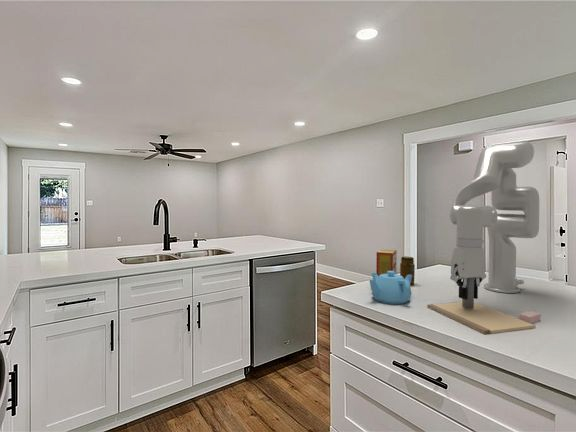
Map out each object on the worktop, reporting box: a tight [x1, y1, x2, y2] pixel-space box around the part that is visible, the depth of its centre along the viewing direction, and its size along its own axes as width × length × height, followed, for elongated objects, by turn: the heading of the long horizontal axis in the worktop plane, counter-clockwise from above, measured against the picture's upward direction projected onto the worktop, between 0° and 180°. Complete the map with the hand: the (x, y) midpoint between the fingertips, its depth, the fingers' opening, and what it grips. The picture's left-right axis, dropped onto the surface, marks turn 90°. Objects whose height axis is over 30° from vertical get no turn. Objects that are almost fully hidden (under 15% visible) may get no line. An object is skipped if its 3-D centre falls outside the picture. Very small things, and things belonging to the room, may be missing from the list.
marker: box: [461, 278, 475, 309], centre depth 109 cm, size 4×4×12 cm
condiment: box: [399, 256, 422, 287], centre depth 146 cm, size 7×8×12 cm
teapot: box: [369, 271, 412, 305], centre depth 123 cm, size 15×15×11 cm
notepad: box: [426, 301, 536, 335], centre depth 104 cm, size 18×24×1 cm
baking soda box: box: [375, 248, 398, 276], centre depth 141 cm, size 10×6×16 cm
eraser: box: [518, 310, 541, 324], centre depth 101 cm, size 6×3×2 cm, turn 119°
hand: (468, 297), depth 109 cm, fingers closed on marker, 3 cm apart
